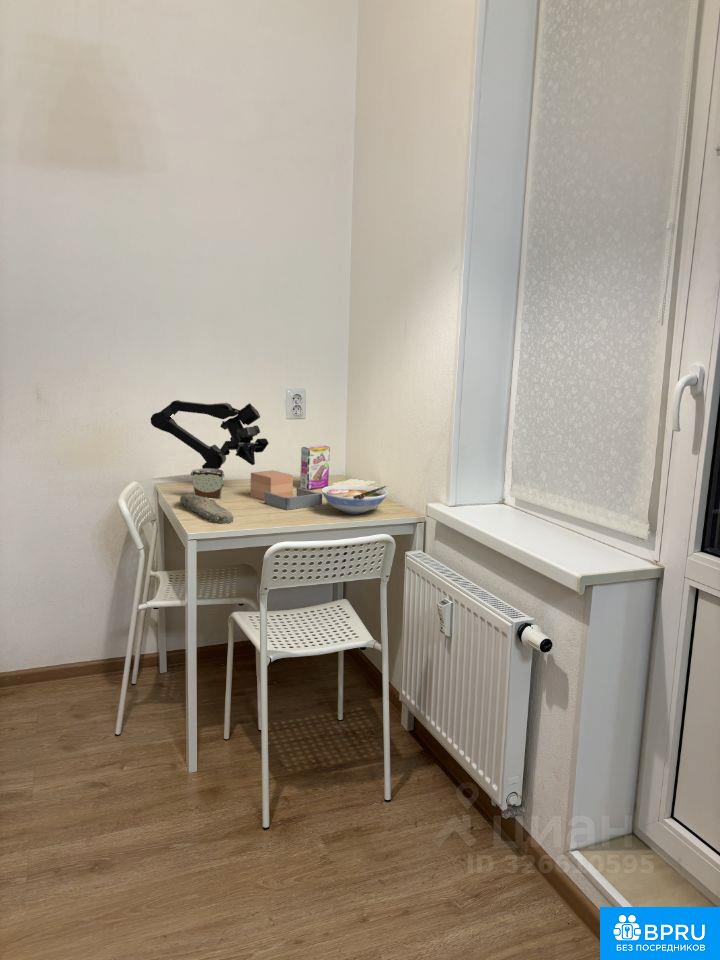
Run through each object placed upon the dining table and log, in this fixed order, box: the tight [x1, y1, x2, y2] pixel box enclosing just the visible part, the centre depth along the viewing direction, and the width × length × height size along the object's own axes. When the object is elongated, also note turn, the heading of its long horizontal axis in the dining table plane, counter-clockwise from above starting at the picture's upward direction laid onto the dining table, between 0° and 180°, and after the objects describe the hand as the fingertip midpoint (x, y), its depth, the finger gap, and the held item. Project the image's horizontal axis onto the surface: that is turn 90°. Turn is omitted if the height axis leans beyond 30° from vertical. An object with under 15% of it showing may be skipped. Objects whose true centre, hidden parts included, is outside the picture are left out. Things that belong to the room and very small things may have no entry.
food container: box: [190, 468, 226, 500], centre depth 281 cm, size 12×6×10 cm, turn 84°
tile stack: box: [250, 469, 294, 501], centre depth 283 cm, size 12×10×9 cm
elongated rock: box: [179, 493, 234, 524], centre depth 257 cm, size 35×5×10 cm
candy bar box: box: [299, 445, 331, 491], centre depth 304 cm, size 11×5×16 cm, turn 136°
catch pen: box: [264, 487, 323, 511], centre depth 274 cm, size 13×15×4 cm
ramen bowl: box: [320, 484, 389, 515], centre depth 265 cm, size 25×23×8 cm
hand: (253, 464), depth 291 cm, fingers closed
